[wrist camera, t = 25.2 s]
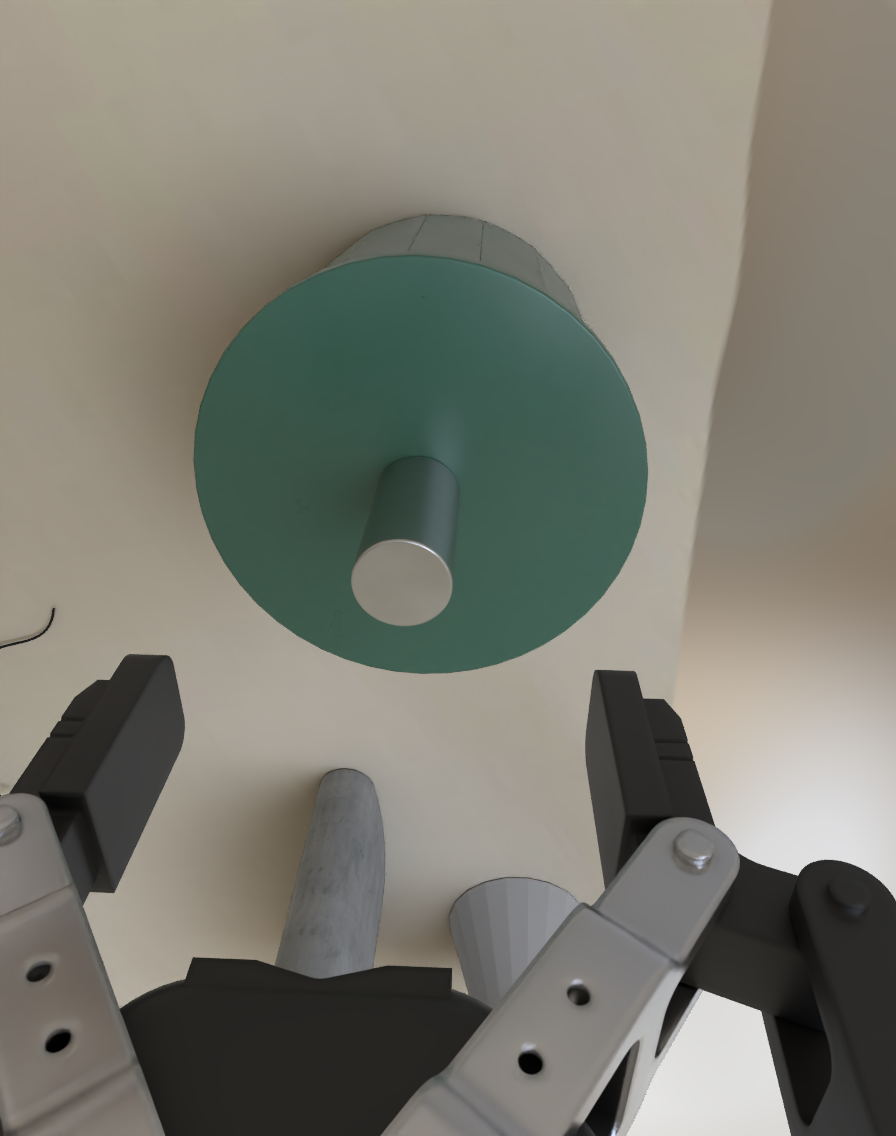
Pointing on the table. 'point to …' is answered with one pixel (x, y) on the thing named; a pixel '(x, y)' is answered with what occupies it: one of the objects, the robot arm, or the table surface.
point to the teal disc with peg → (420, 462)
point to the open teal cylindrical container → (463, 248)
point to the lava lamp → (504, 931)
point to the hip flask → (337, 882)
